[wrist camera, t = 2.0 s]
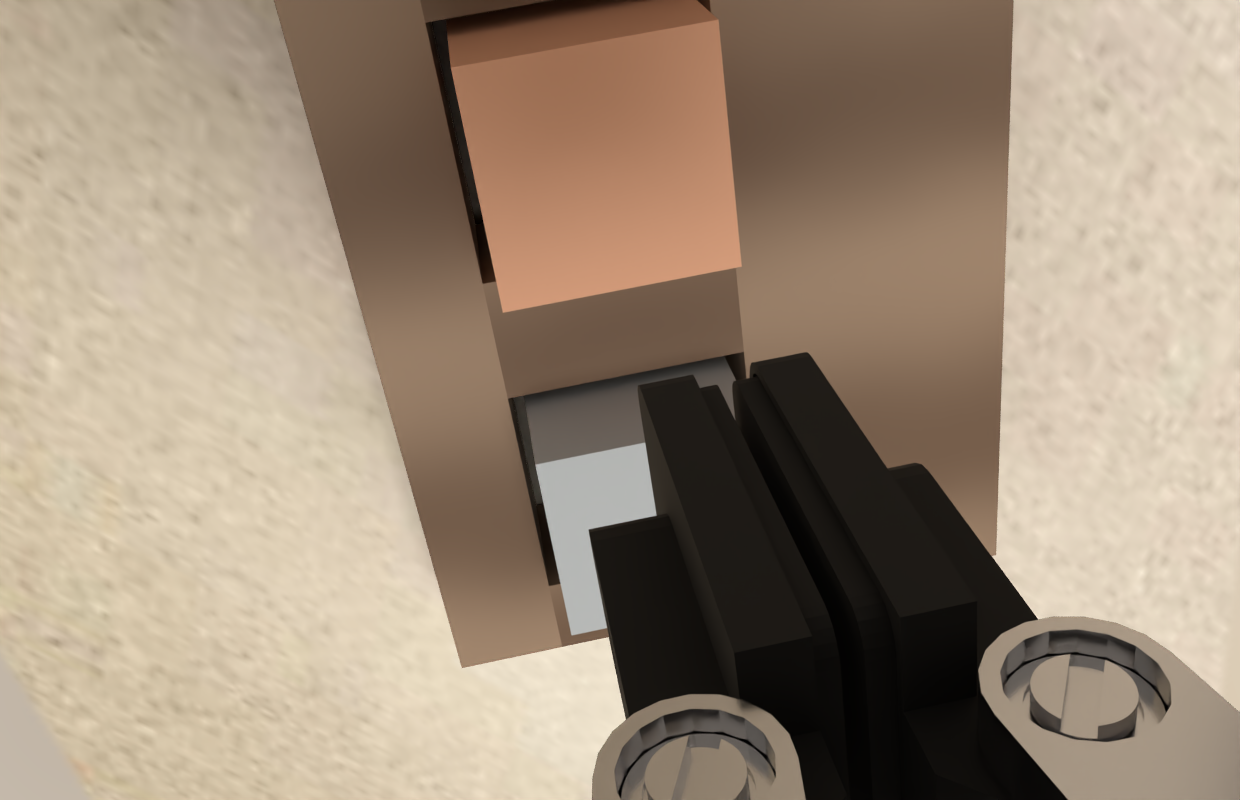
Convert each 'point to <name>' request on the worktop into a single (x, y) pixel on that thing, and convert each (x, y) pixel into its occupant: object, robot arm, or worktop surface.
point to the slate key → (598, 469)
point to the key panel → (692, 306)
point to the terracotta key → (597, 144)
